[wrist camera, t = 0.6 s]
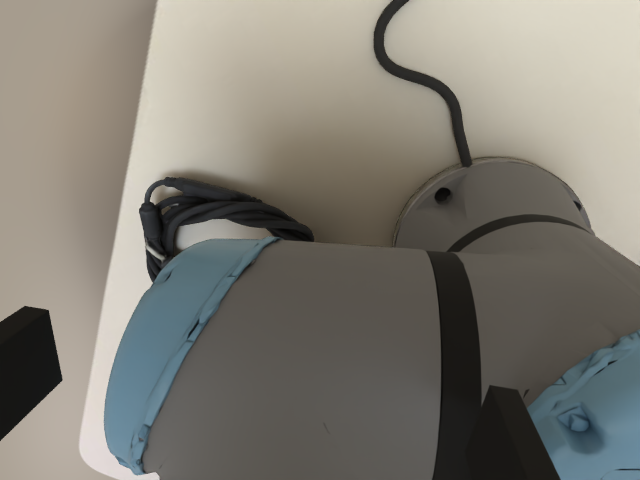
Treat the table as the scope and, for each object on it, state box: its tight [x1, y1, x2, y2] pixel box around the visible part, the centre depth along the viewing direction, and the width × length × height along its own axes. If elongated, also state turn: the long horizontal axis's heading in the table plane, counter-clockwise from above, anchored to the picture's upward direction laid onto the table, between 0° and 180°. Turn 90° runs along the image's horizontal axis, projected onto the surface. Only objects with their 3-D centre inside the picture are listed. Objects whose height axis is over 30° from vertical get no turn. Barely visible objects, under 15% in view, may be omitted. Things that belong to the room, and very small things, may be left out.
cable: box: [139, 177, 314, 283], centre depth 35 cm, size 17×14×4 cm
